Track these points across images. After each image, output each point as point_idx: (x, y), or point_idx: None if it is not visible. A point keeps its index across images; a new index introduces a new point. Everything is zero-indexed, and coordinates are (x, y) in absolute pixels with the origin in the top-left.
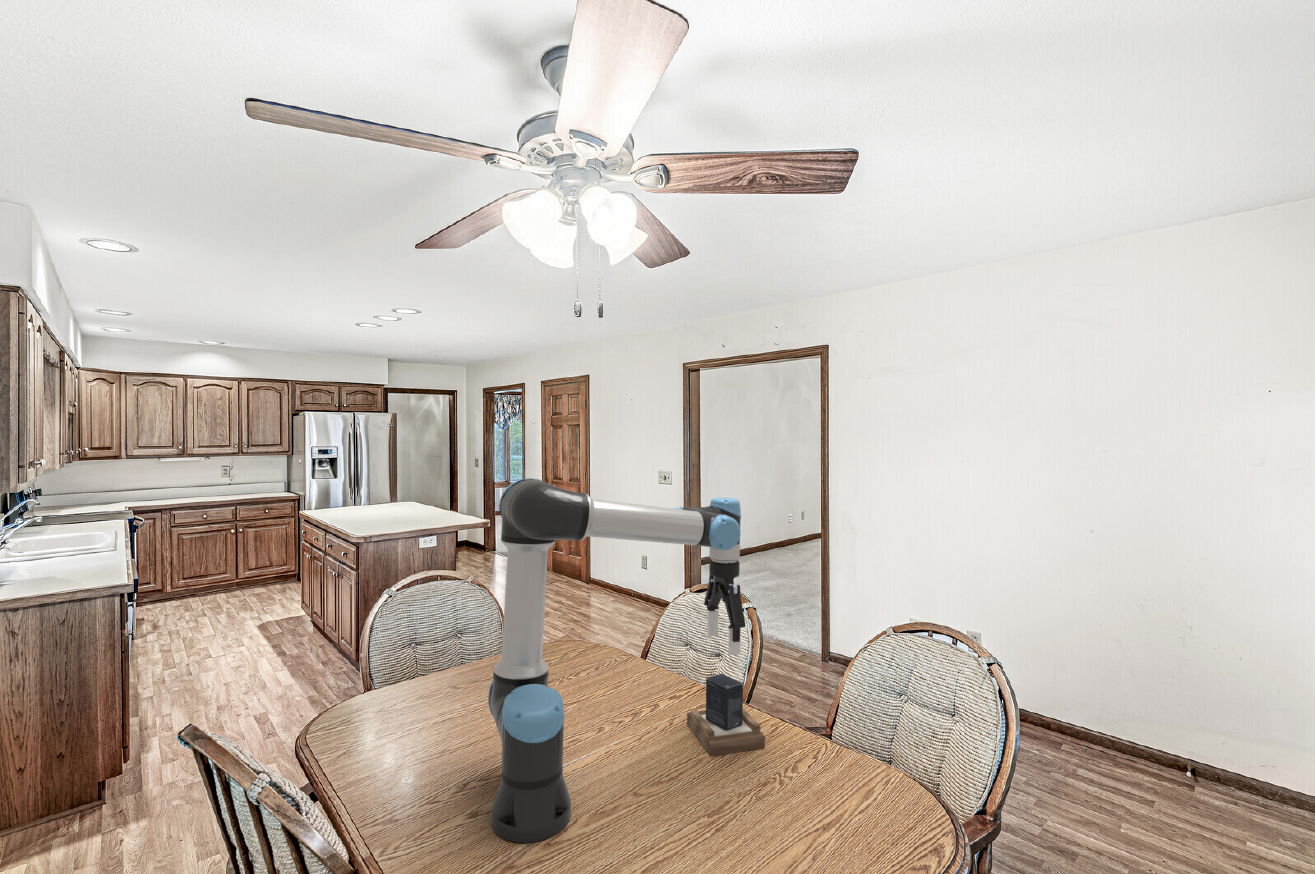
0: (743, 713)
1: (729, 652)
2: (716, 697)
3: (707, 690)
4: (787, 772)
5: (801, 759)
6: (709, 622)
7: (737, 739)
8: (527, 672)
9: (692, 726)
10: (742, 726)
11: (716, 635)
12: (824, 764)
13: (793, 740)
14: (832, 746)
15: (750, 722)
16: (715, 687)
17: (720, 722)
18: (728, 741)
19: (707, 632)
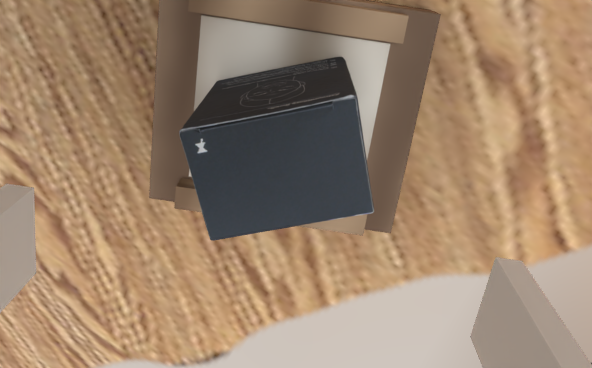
0: None
1: (1, 193)
2: (267, 94)
3: (337, 83)
4: (8, 159)
5: (64, 241)
6: (539, 347)
7: (155, 90)
8: None
9: (368, 1)
10: None
11: (474, 327)
12: None
13: (172, 288)
14: (104, 360)
15: None
16: (273, 104)
17: (247, 77)
18: (157, 51)
19: (529, 276)
